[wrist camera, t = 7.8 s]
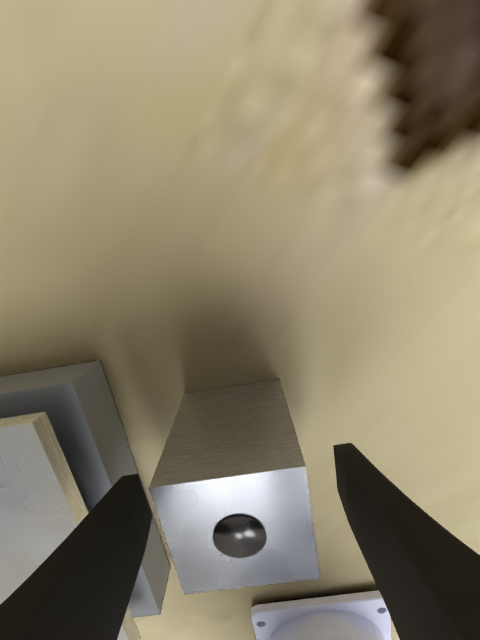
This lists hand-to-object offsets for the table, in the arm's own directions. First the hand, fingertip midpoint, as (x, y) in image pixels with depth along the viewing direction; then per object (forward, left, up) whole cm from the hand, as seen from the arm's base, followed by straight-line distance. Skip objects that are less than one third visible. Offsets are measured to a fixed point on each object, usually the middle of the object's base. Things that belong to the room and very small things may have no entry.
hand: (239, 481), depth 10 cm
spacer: (0, 0, -3) cm, 3 cm away
